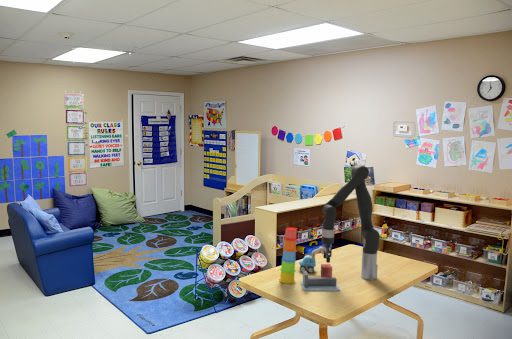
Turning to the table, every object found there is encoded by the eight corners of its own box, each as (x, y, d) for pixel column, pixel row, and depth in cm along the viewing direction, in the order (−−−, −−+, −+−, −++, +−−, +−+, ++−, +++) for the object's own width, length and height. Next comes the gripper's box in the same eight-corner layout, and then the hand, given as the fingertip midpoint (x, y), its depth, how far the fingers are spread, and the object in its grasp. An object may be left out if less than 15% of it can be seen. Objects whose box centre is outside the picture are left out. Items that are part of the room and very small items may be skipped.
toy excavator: (323, 274, 267) (324, 249, 265) (298, 271, 270) (299, 247, 269) (323, 269, 275) (324, 245, 274) (299, 267, 279) (300, 243, 277)
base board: (334, 283, 252) (334, 281, 251) (339, 290, 240) (339, 289, 239) (300, 283, 250) (300, 281, 250) (303, 290, 239) (303, 289, 238)
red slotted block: (329, 277, 261) (330, 264, 260) (331, 280, 255) (332, 267, 255) (320, 277, 261) (321, 264, 260) (322, 280, 255) (323, 267, 254)
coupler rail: (334, 283, 249) (334, 270, 248) (337, 287, 242) (337, 274, 241) (302, 283, 248) (303, 270, 247) (304, 287, 241) (304, 274, 240)
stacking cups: (286, 276, 260) (287, 225, 257) (298, 281, 253) (300, 228, 250) (275, 280, 253) (277, 227, 250) (287, 285, 246) (289, 230, 242)
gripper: (336, 239, 249) (335, 264, 250) (331, 233, 263) (329, 256, 264) (324, 238, 248) (323, 263, 250) (319, 232, 262) (318, 256, 264)
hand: (326, 260), depth 257 cm, fingers open, 8 cm apart
